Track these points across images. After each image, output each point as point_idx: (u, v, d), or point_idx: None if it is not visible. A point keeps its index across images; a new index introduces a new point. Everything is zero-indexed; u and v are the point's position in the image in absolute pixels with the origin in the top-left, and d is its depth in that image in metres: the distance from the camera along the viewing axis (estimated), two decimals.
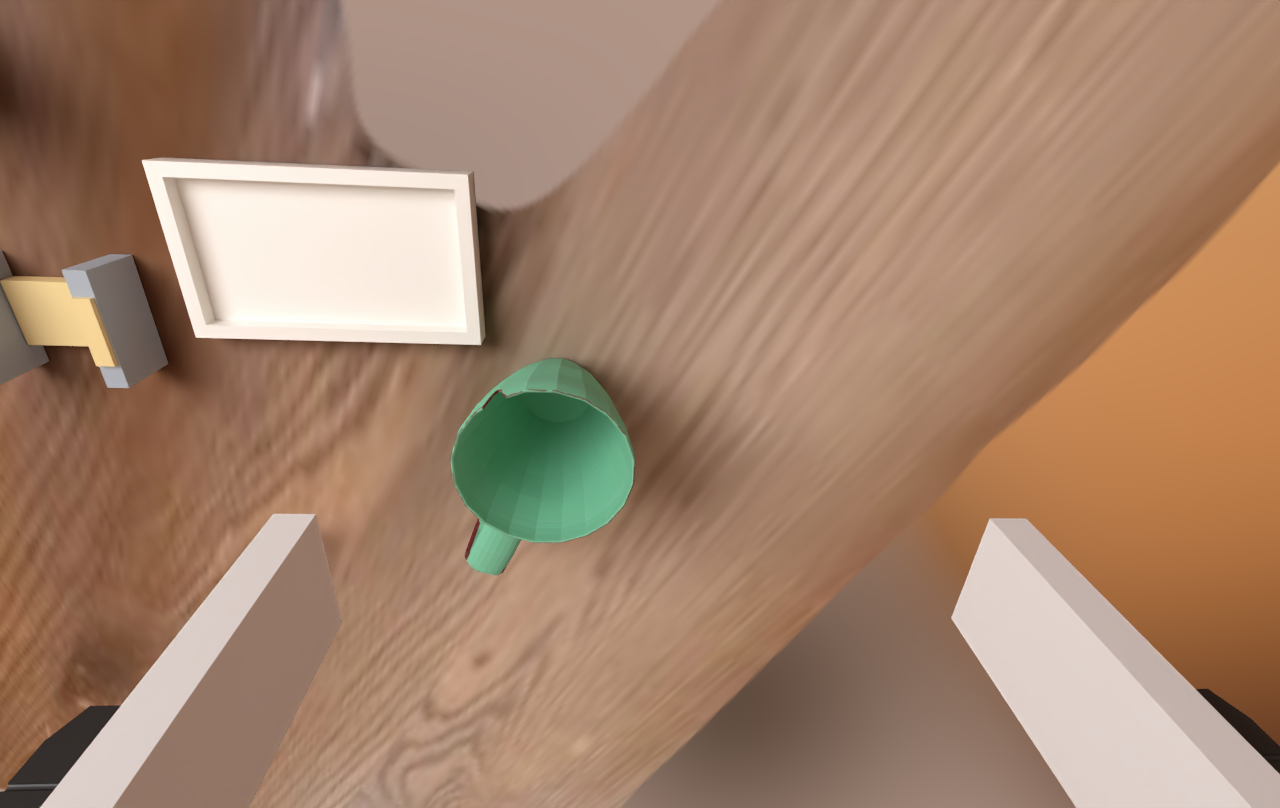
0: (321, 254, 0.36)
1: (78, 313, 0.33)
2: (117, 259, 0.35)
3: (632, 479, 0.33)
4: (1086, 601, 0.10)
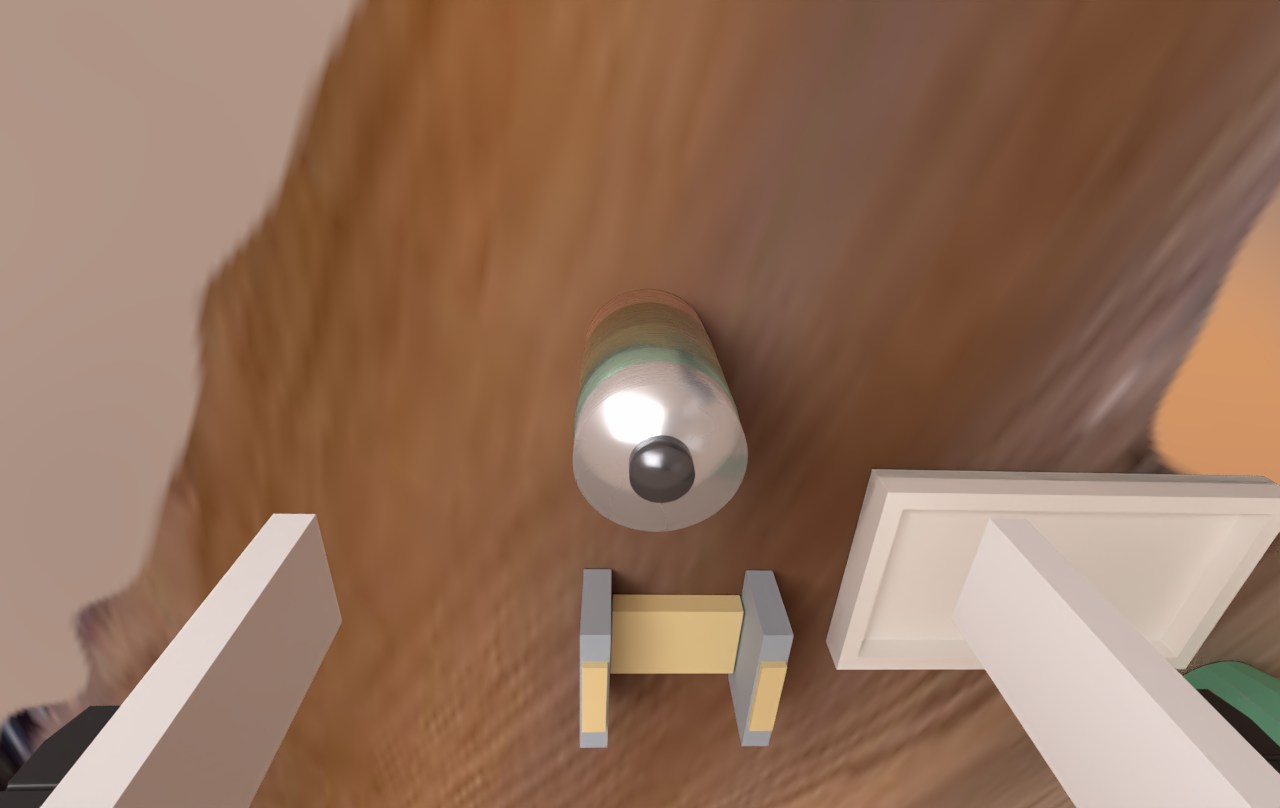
0: None
1: (762, 681, 0.25)
2: (776, 588, 0.26)
3: None
4: (1086, 601, 0.10)
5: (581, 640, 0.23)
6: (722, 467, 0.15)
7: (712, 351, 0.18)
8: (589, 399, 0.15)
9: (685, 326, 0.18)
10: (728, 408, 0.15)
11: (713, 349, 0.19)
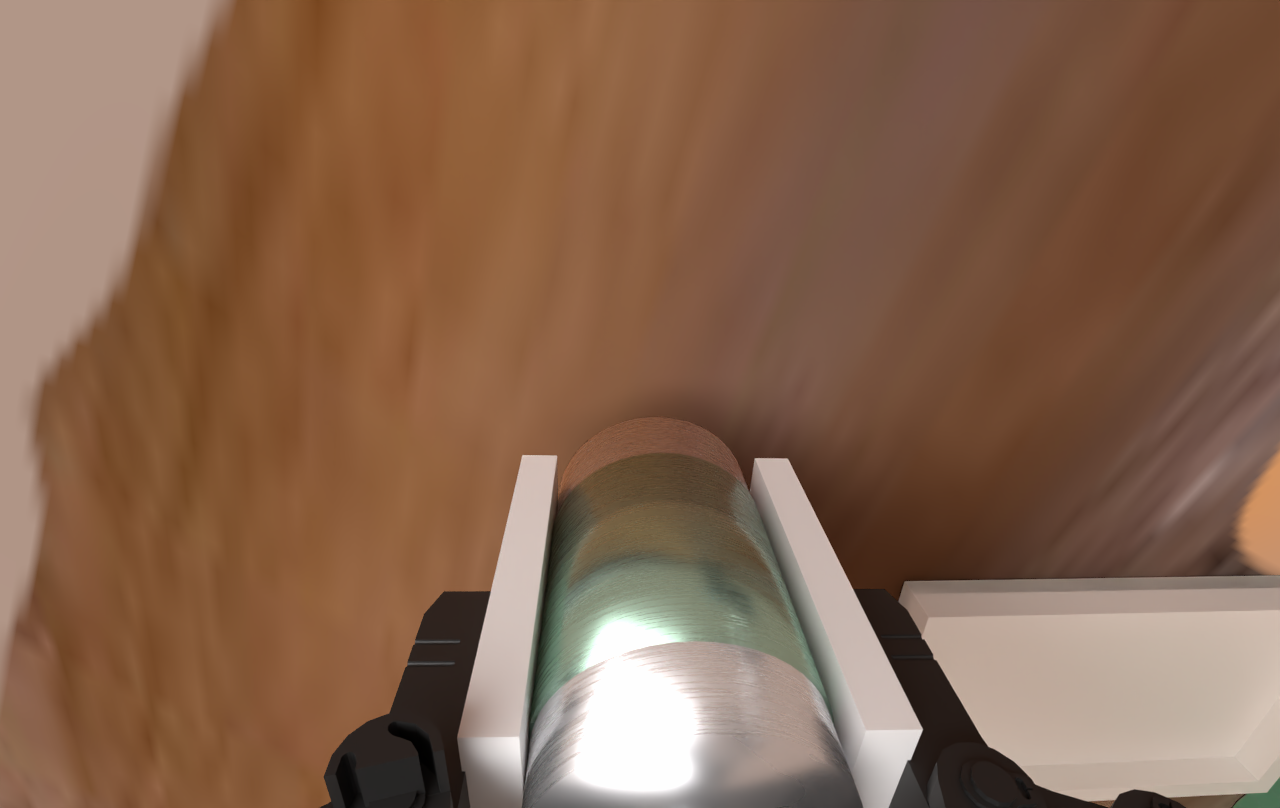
0: (1085, 691, 0.22)
1: None
2: None
3: None
4: (798, 519, 0.12)
5: None
6: None
7: (768, 551, 0.11)
8: (552, 715, 0.08)
9: (723, 509, 0.11)
10: (833, 763, 0.07)
11: (766, 534, 0.11)
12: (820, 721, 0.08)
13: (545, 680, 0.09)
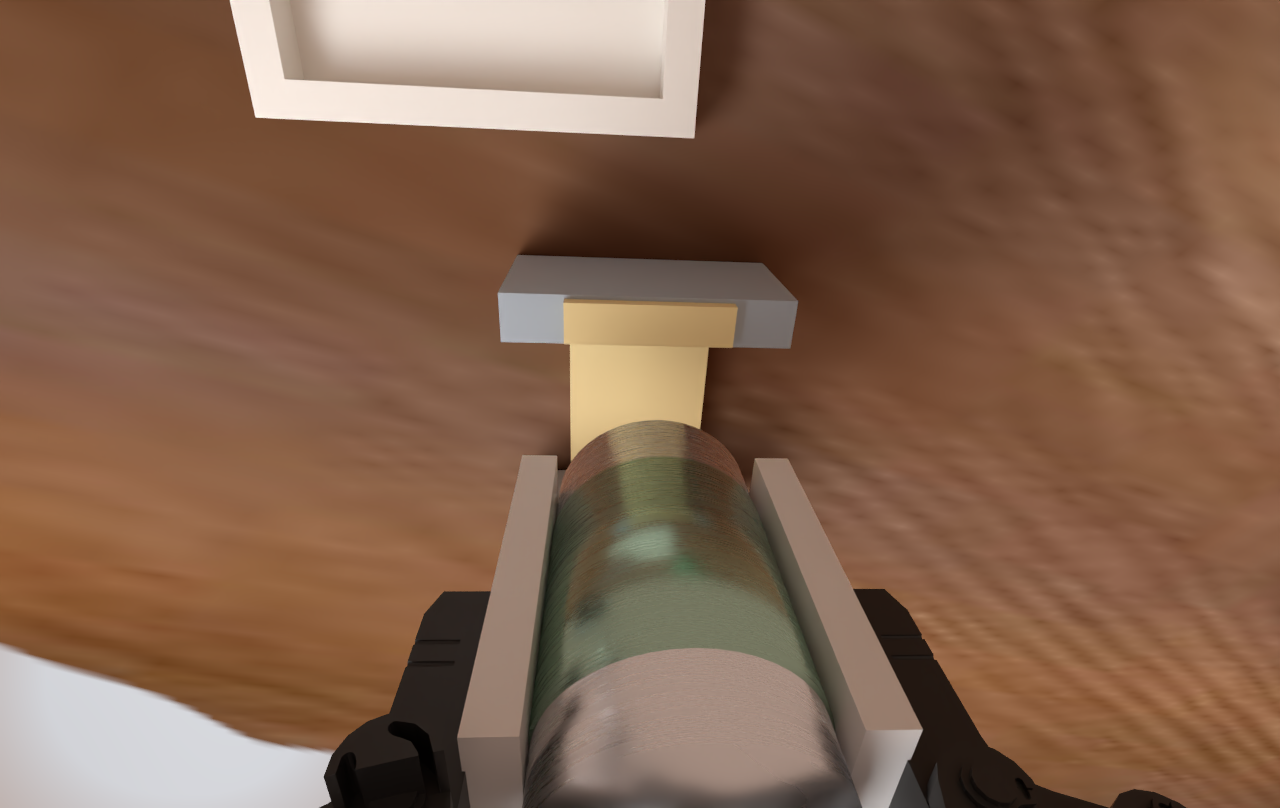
0: None
1: (599, 339, 0.14)
2: None
3: None
4: (798, 519, 0.12)
5: None
6: None
7: (769, 555, 0.11)
8: (551, 722, 0.08)
9: (723, 514, 0.11)
10: (835, 771, 0.07)
11: (766, 538, 0.11)
12: (821, 728, 0.08)
13: (545, 686, 0.08)
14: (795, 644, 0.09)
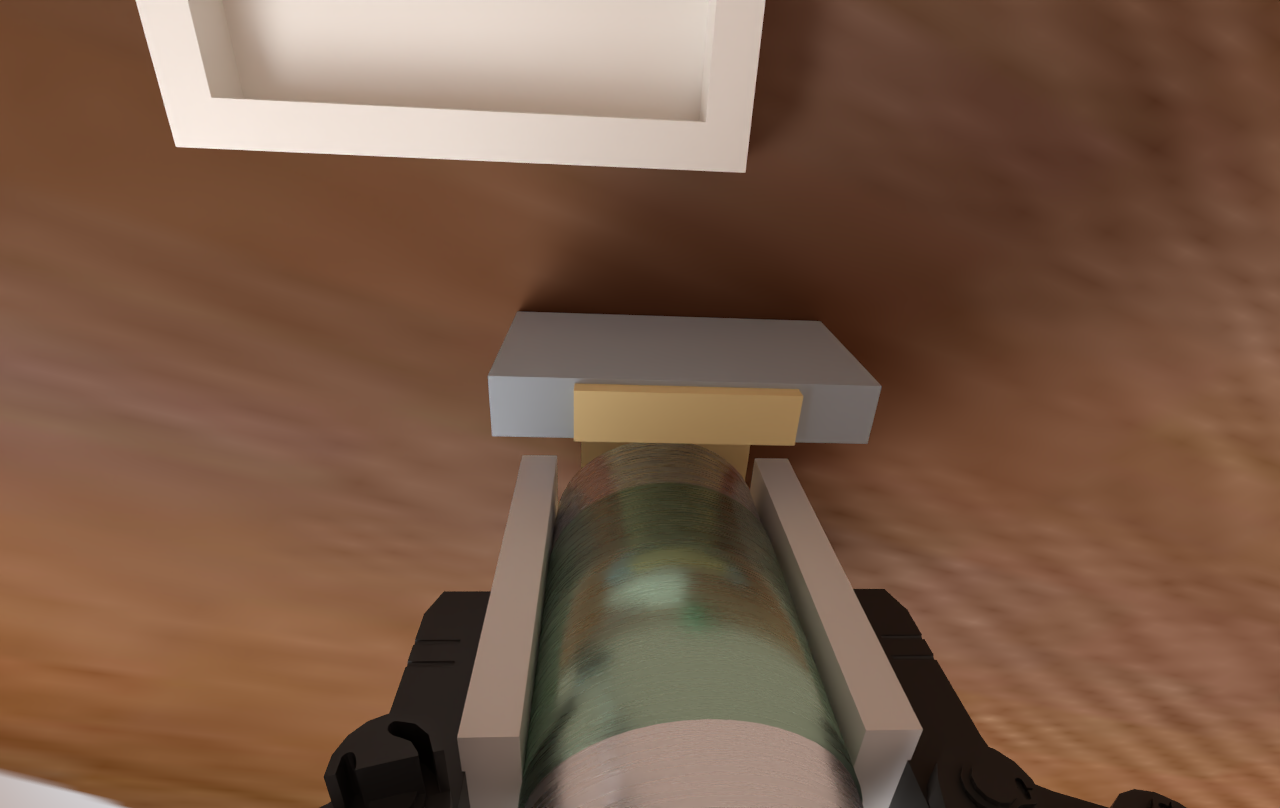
0: None
1: (620, 435, 0.11)
2: None
3: None
4: (798, 519, 0.12)
5: None
6: None
7: (785, 595, 0.10)
8: (545, 802, 0.07)
9: (735, 550, 0.10)
10: None
11: (781, 573, 0.10)
12: None
13: (538, 754, 0.08)
14: (818, 706, 0.08)
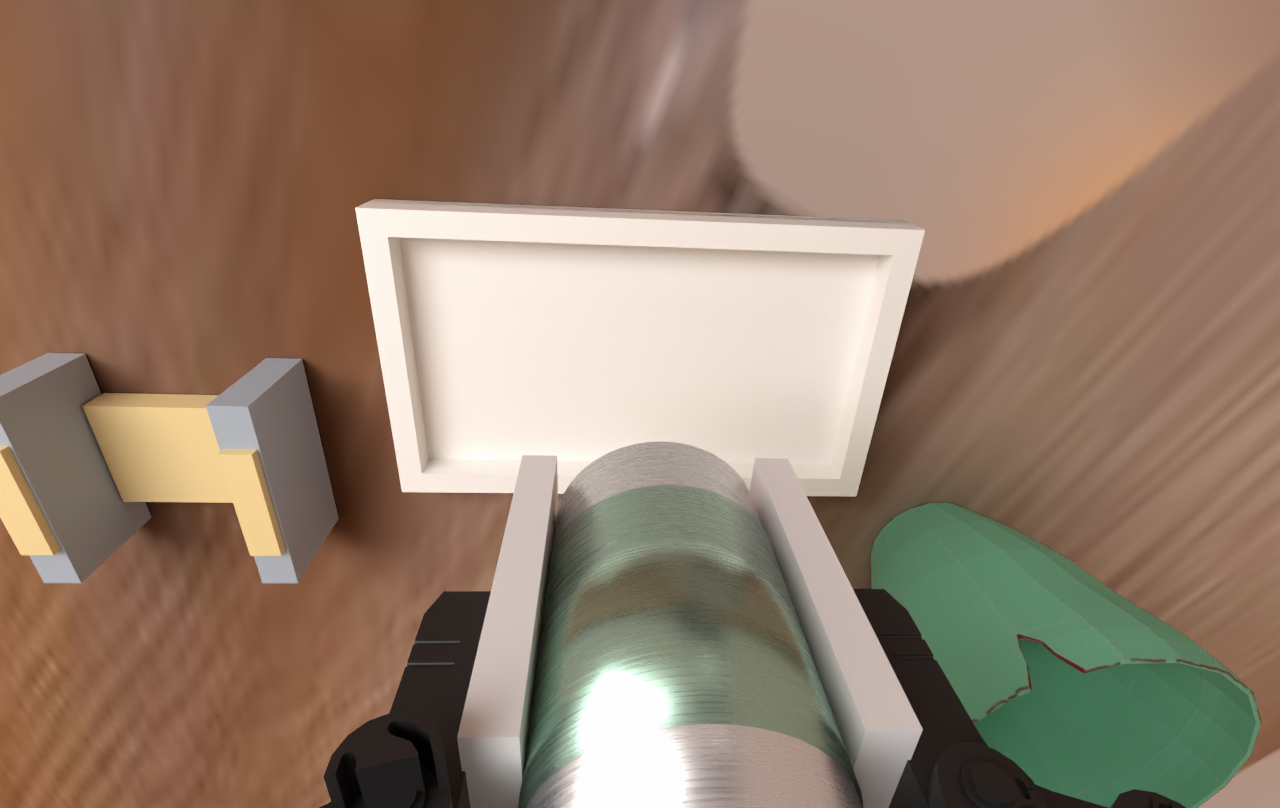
0: (622, 357, 0.21)
1: (229, 477, 0.19)
2: (285, 371, 0.20)
3: (1225, 778, 0.18)
4: (798, 519, 0.12)
5: None
6: None
7: (785, 598, 0.10)
8: (544, 807, 0.07)
9: (735, 553, 0.10)
10: None
11: (781, 576, 0.10)
12: None
13: (537, 759, 0.08)
14: (819, 710, 0.08)
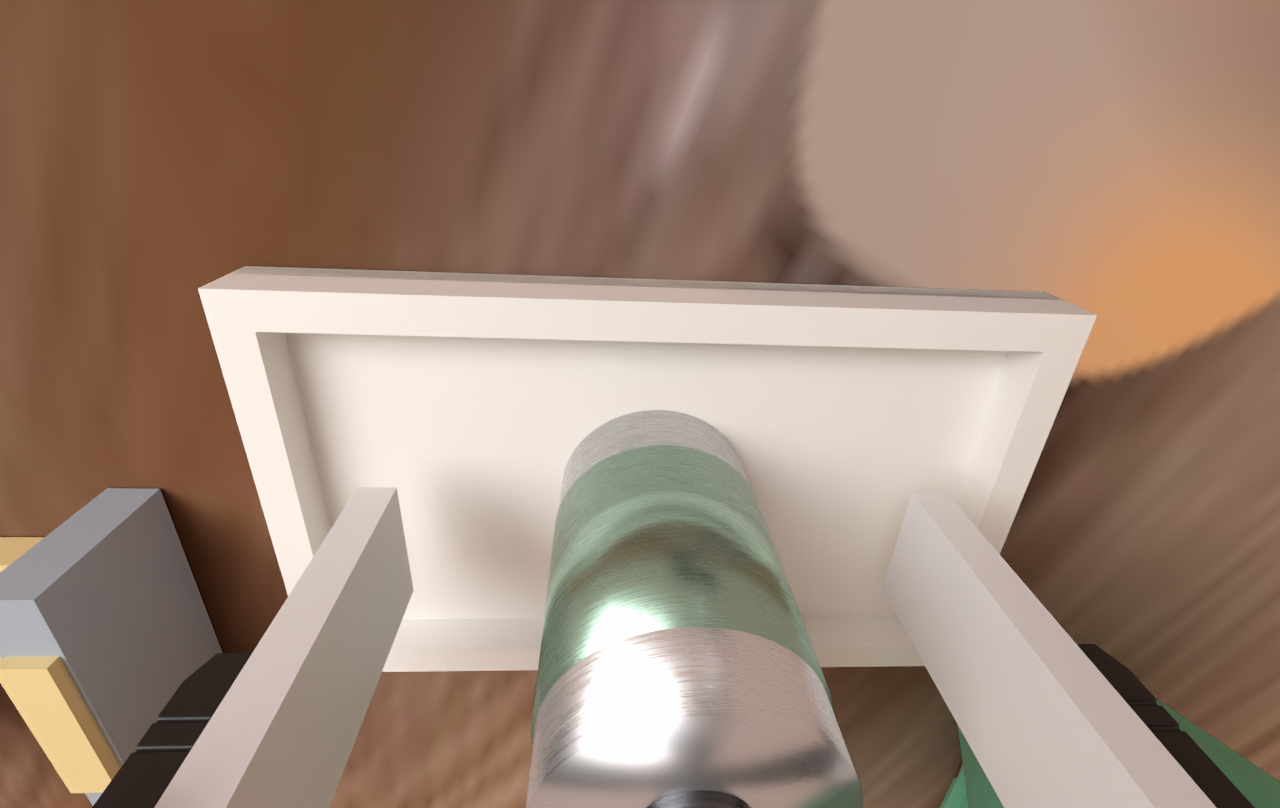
0: None
1: (17, 698, 0.12)
2: (124, 517, 0.14)
3: None
4: (987, 565, 0.11)
5: None
6: None
7: (769, 541, 0.11)
8: (557, 698, 0.08)
9: (724, 500, 0.11)
10: (832, 744, 0.07)
11: (766, 525, 0.12)
12: (819, 704, 0.08)
13: (550, 665, 0.09)
14: (794, 625, 0.09)
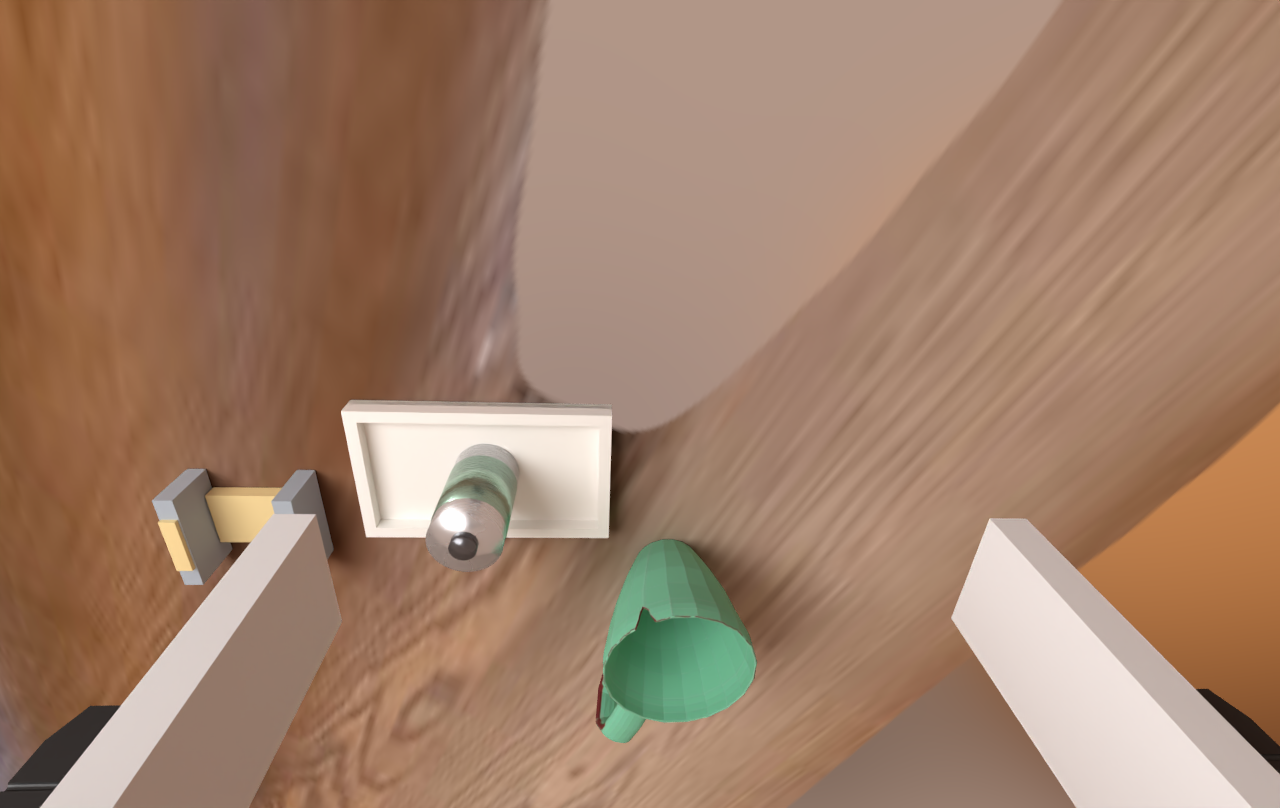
0: None
1: None
2: (306, 479, 0.41)
3: (752, 676, 0.39)
4: (1086, 601, 0.10)
5: (154, 504, 0.38)
6: (492, 544, 0.35)
7: (504, 483, 0.38)
8: (434, 514, 0.35)
9: (491, 471, 0.38)
10: (490, 520, 0.34)
11: (509, 479, 0.39)
12: (492, 515, 0.35)
13: (435, 510, 0.36)
14: (496, 501, 0.36)
